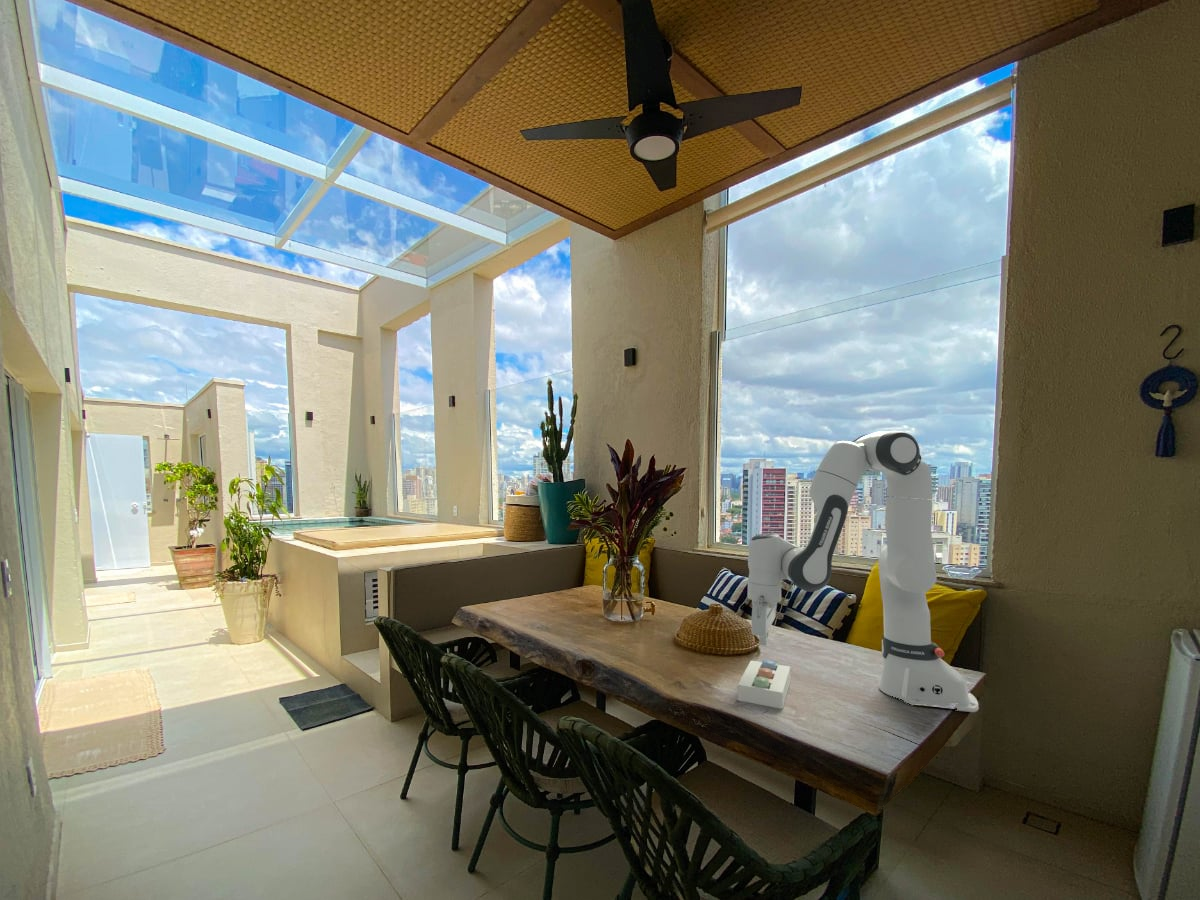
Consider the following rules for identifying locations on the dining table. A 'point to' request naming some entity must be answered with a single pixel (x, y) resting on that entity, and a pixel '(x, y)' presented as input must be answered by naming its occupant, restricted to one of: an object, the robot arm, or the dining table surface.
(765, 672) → the terracotta button
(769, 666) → the blue button
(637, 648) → the dining table surface
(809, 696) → the dining table surface
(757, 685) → the sage button
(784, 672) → the button console
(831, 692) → the dining table surface
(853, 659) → the dining table surface
